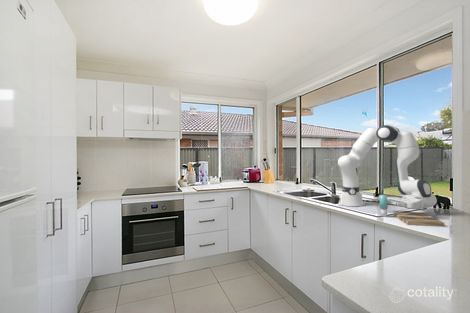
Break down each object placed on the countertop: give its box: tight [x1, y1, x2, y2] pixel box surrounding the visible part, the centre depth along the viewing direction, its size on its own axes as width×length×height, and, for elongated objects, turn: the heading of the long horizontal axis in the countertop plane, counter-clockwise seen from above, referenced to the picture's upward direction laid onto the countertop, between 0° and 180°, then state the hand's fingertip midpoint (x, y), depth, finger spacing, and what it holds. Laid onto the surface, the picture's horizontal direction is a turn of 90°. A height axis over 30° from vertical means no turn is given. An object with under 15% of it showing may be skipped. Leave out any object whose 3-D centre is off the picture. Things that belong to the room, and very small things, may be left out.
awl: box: [378, 194, 388, 218], centre depth 137 cm, size 4×4×13 cm
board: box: [392, 211, 446, 227], centre depth 126 cm, size 20×16×2 cm
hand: (390, 203), depth 138 cm, fingers open, 8 cm apart
